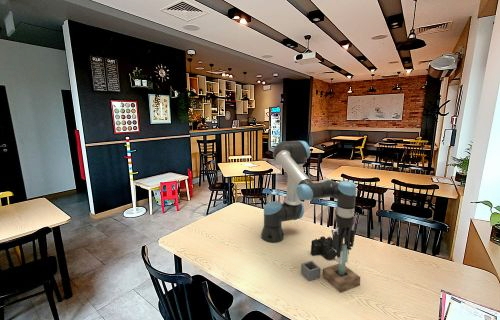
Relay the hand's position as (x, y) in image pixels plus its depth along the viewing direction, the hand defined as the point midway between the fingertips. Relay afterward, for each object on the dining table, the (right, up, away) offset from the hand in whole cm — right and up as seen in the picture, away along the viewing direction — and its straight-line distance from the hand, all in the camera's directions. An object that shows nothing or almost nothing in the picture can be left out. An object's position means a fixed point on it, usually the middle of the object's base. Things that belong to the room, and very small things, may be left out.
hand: (342, 261), depth 111 cm
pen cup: (-14, -10, +6) cm, 18 cm away
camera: (-1, -7, +23) cm, 25 cm away
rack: (0, -11, +2) cm, 11 cm away
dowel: (0, -7, +1) cm, 7 cm away
